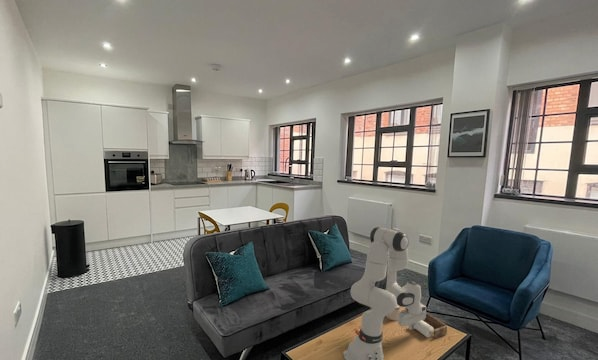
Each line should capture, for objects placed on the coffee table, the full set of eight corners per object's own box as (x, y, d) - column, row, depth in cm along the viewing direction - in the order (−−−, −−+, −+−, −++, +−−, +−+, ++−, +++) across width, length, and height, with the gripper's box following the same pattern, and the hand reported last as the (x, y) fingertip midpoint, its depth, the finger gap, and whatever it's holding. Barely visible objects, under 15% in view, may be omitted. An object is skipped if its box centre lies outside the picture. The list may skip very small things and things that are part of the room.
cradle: (435, 338, 172) (435, 329, 171) (413, 323, 187) (414, 315, 186) (446, 334, 176) (447, 325, 176) (424, 320, 191) (425, 311, 190)
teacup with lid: (402, 320, 190) (402, 304, 189) (388, 321, 189) (389, 304, 188) (394, 310, 202) (395, 295, 201) (382, 311, 201) (382, 295, 200)
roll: (430, 339, 173) (435, 329, 175) (424, 335, 171) (429, 324, 172) (414, 328, 184) (419, 318, 186) (408, 324, 182) (413, 314, 183)
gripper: (403, 314, 166) (402, 336, 167) (428, 306, 174) (427, 327, 176) (395, 308, 171) (394, 330, 173) (420, 301, 180) (419, 322, 181)
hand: (411, 328), depth 174 cm, fingers closed
